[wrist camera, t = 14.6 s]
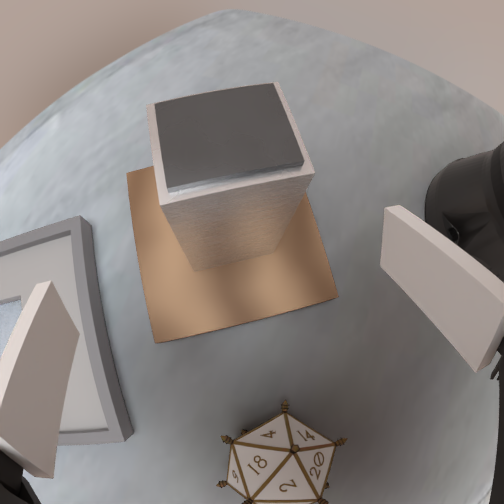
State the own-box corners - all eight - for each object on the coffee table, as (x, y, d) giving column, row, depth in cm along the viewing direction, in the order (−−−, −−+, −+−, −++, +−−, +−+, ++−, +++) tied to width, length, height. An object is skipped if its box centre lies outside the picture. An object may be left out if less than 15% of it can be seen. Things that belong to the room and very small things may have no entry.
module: (255, 193, 26) (279, 76, 13) (273, 253, 24) (317, 168, 12) (181, 210, 25) (144, 99, 12) (194, 271, 24) (157, 201, 11)
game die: (260, 416, 26) (280, 358, 20) (337, 466, 23) (389, 425, 17) (193, 485, 21) (184, 456, 14) (277, 543, 17) (313, 544, 11)
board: (283, 151, 29) (286, 139, 27) (330, 299, 26) (338, 296, 24) (132, 183, 27) (126, 173, 25) (160, 342, 24) (155, 343, 22)
